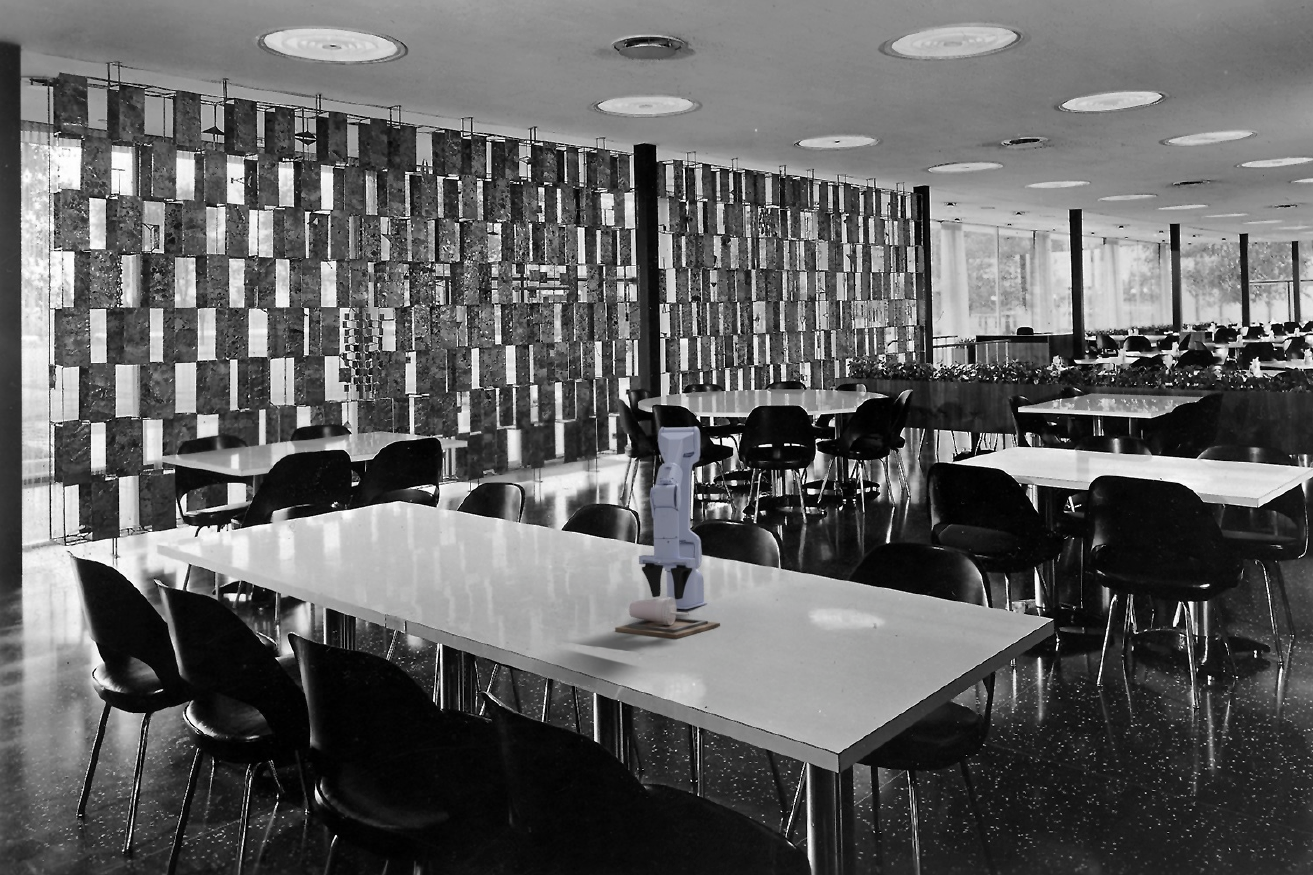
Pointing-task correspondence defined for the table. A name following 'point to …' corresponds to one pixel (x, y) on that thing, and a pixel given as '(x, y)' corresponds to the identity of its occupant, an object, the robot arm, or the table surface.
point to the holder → (668, 628)
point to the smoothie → (655, 610)
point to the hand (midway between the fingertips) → (667, 597)
